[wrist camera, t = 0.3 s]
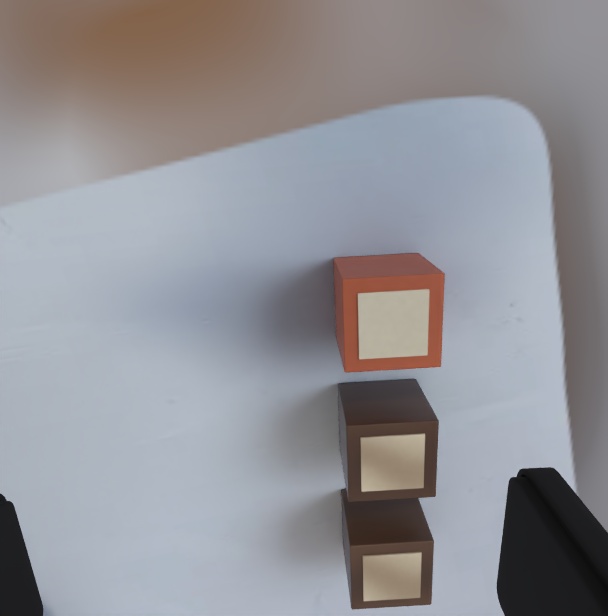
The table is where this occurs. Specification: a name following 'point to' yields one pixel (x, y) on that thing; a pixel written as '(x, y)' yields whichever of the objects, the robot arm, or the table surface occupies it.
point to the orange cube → (388, 312)
